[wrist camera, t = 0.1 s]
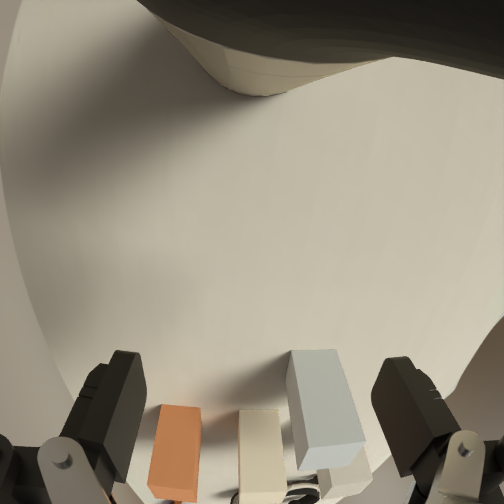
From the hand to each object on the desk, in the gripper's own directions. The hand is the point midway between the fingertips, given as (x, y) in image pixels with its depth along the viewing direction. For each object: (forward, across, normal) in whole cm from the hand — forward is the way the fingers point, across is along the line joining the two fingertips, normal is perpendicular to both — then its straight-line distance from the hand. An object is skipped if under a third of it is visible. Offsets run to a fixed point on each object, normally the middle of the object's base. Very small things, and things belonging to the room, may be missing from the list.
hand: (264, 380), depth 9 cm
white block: (+18, -8, +16) cm, 26 cm away
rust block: (+19, +7, +27) cm, 34 cm away
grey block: (+19, -13, +27) cm, 36 cm away
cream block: (+19, -3, +27) cm, 34 cm away
